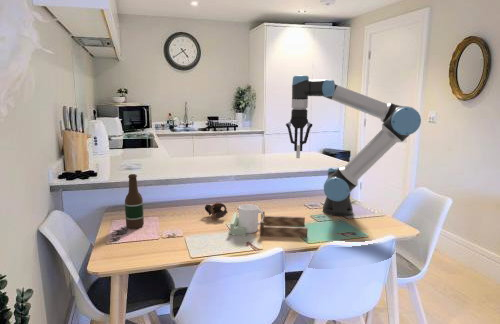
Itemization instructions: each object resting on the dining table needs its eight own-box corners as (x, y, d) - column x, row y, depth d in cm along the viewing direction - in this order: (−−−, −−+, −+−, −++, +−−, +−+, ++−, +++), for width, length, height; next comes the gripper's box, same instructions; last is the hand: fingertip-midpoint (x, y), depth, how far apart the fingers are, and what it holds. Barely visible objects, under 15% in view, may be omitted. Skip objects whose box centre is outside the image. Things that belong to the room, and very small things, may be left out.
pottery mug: (229, 215, 180) (230, 204, 175) (222, 229, 173) (223, 217, 168) (207, 207, 182) (208, 196, 177) (199, 220, 175) (199, 209, 170)
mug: (267, 230, 159) (268, 207, 157) (243, 235, 154) (243, 211, 152) (259, 224, 166) (259, 202, 164) (235, 228, 161) (235, 205, 159)
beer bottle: (127, 230, 157) (124, 177, 153) (124, 224, 164) (121, 173, 160) (145, 227, 161) (143, 175, 156) (142, 222, 168) (139, 172, 163)
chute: (304, 225, 166) (304, 212, 165) (307, 237, 151) (307, 224, 150) (261, 223, 167) (261, 211, 166) (260, 235, 153) (260, 222, 152)
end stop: (247, 223, 168) (247, 213, 167) (245, 235, 153) (245, 224, 152) (234, 222, 168) (234, 212, 167) (230, 234, 153) (230, 223, 153)
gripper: (312, 108, 173) (310, 156, 177) (285, 108, 174) (284, 156, 178) (314, 109, 166) (312, 159, 170) (286, 109, 167) (284, 158, 171)
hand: (297, 157), depth 174 cm, fingers closed
